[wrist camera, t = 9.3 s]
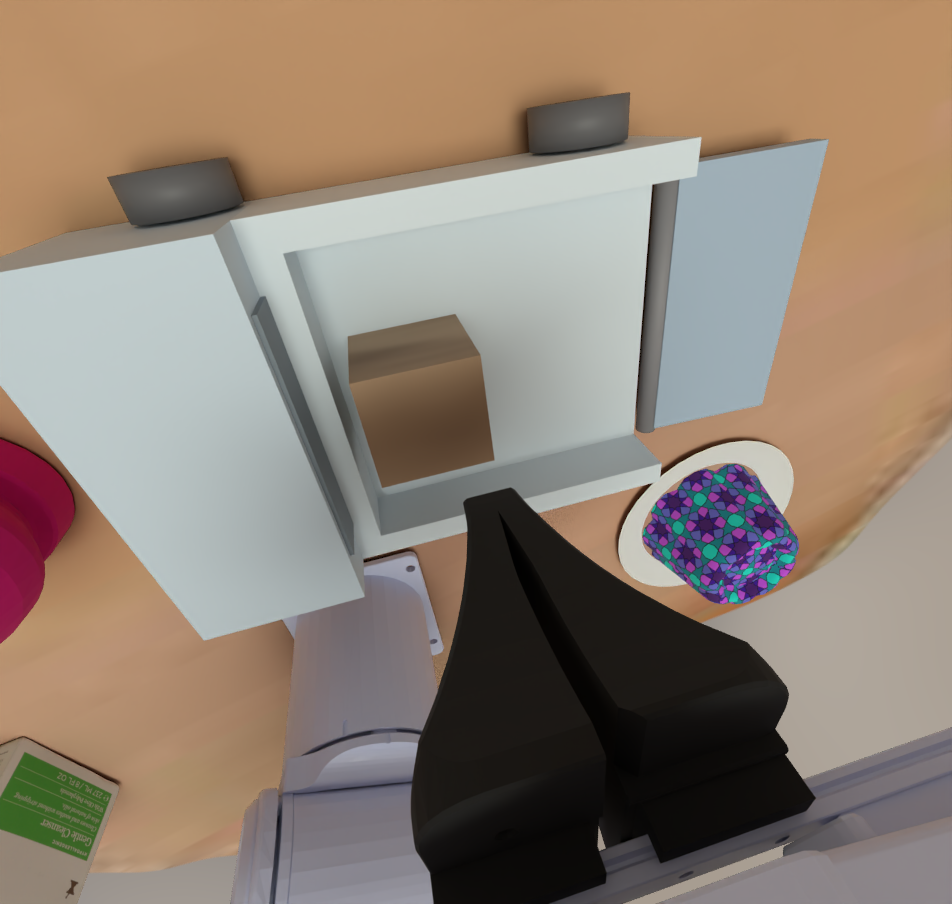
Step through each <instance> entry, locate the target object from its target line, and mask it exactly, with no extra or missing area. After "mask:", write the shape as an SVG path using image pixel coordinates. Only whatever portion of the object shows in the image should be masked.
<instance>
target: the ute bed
mask: <svg viewBox="0 0 952 904" xmlns="http://www.w3.org/2000/svg"><path fill="white" fill-rule="evenodd" d="M629 105H630V92H628V93H621V94H613V95H607V96H600V97H593V98H587V99H580V100H574V101H568V102H562V103H555V104H549V105H543V106H538V107H532V108H527V120H528V138H529V153H524V154H518V155H512V156H506V157H501V158H495V159H489V160H483V161H478V162H472V163H466V164H460V165H454V166H449V167H443V168H437V169H431V170H426V171H420V172H414V173H408V174H403V175H397V176H391V177H385V178H379V179H374V180H368V181H362V182H356V183H351V184H345V185H339V186H333V187H328V188H322V189H316V190H310V191H305V192H299V193H293V194H287V195H281V196H276V197H270V198H264V199H258V200H253V201H247V202H243V199H242V196H241V194H240V191H239V188H238V185H237V183H236V180H235V177H234V175H233V172H232V169H231V167H230V164H229V161H228V158H227V157H225V158H218V159H211V160H205V161H198V162H192V163H186V164H180V165H174V166H168V167H162V168H156V169H150V170H144V171H138V172H132V173H127V174H121V175H116V176H111V177H107V178H108V180H109V182H110V184H111V186H112V188H113V190H114V192H115V194H116V196H117V198H118V200H119V202H120V204H121V206H122V208H123V210H124V212H125V214H126V216H127V218H128V220H129V222H126V223H120V224H114V225H108V226H103V227H97V228H91V229H85V230H80V231H74V232H68V233H64V234H61V235H59V236H56V237H53V238H51V239H48V240H45V241H42V242H40V243H37V244H34V245H32V246H29V247H26V248H24V249H21V250H18V251H16V252H13V253H10V254H7V255H5V256H2V257H0V386H1V387H2V388H3V389H4V391H5V392H6V393H7V394H8V396H9V397H10V398H11V399H12V401H13V402H14V403H15V404H16V406H17V407H18V408H19V409H20V411H21V412H22V413H23V414H24V416H25V417H26V418H27V419H28V421H29V422H30V423H31V424H32V426H33V427H34V428H35V429H36V431H37V432H38V433H39V434H40V436H41V437H42V438H43V439H44V441H45V442H46V443H47V444H48V446H49V447H50V448H51V449H52V451H53V452H54V453H55V455H56V456H57V457H58V458H59V460H60V461H61V462H62V463H63V465H64V466H65V467H66V468H67V470H68V471H69V472H70V473H71V475H72V476H73V477H74V478H75V480H76V481H77V482H78V483H79V485H80V486H81V487H82V488H83V490H84V491H85V492H86V493H87V495H88V496H89V497H90V498H91V500H92V501H93V502H94V503H95V505H96V506H97V507H98V508H99V510H100V511H101V512H102V513H103V515H104V516H105V517H106V518H107V520H108V521H109V522H110V523H111V525H112V526H113V527H114V528H115V530H116V531H117V532H118V533H119V535H120V536H121V537H122V538H123V540H124V541H125V542H126V543H127V545H128V546H129V547H130V548H131V550H132V551H133V552H134V554H135V555H136V556H137V557H138V559H139V560H140V561H141V562H142V564H143V565H144V566H145V567H146V569H147V570H148V571H149V572H150V574H151V575H152V576H153V577H154V579H155V580H156V581H157V582H158V584H159V585H160V586H161V587H162V589H163V590H164V591H165V592H166V594H167V595H168V596H169V597H170V599H171V600H172V601H173V602H174V604H175V605H176V606H177V607H178V609H179V610H180V611H181V612H182V614H183V615H184V616H185V617H186V619H187V620H188V621H189V622H190V624H191V625H192V626H193V627H194V629H195V630H196V631H197V632H198V634H199V635H200V636H201V637H202V639H203V640H208V639H212V638H216V637H219V636H223V635H227V634H230V633H234V632H238V631H241V630H245V629H249V628H252V627H256V626H260V625H263V624H267V623H271V622H274V621H278V620H282V619H285V618H289V617H293V616H296V615H300V614H304V613H308V612H311V611H315V610H319V609H322V608H326V607H330V606H333V605H337V604H341V603H344V602H348V601H352V600H355V599H359V598H363V597H365V584H364V564H363V559H365V558H369V557H373V556H376V555H380V554H384V553H388V552H392V551H396V550H399V549H403V548H407V547H411V546H415V545H418V544H422V543H426V542H430V541H434V540H437V539H441V538H445V537H449V536H453V535H456V534H460V533H464V532H467V521H466V516H465V511H464V506H463V502H464V501H465V500H466V498H470V497H474V496H478V495H482V494H486V493H490V492H494V491H498V490H502V489H506V488H510V487H511V488H513V489H515V490H516V492H517V493H518V494H519V495H520V496H521V497H522V498H523V500H524V501H525V502H526V503H527V504H528V505H529V506H530V507H531V508H532V509H533V510H534V511H535V512H536V513H540V512H544V511H548V510H552V509H555V508H559V507H563V506H567V505H571V504H574V503H578V502H582V501H586V500H590V499H594V498H597V497H601V496H605V495H609V494H613V493H616V492H620V491H624V490H628V489H632V488H635V487H639V486H643V485H647V484H651V483H654V482H658V481H660V474H661V465H662V463H661V462H660V461H659V460H658V459H657V458H656V457H655V456H654V455H653V454H652V453H651V452H650V451H649V450H648V449H647V448H646V447H645V446H644V444H643V443H642V442H641V441H640V440H639V439H638V438H637V437H636V436H635V435H634V421H635V407H636V394H637V381H638V367H639V354H640V341H641V327H642V314H643V301H644V287H645V274H646V261H647V247H648V234H649V221H650V207H651V194H652V184H658V183H663V182H668V181H674V180H679V179H685V178H690V177H695V176H697V170H698V162H699V154H700V145H701V137H675V136H628V126H629ZM452 314H456V316H457V318H458V319H459V321H460V322H461V324H462V326H463V327H464V329H465V331H466V332H467V334H468V335H469V337H470V339H471V340H472V342H473V344H474V345H475V347H476V348H477V350H478V352H479V353H480V355H481V362H482V369H483V377H484V384H485V392H486V399H487V407H488V414H489V422H490V429H491V436H492V444H493V451H494V459H495V460H494V461H490V462H486V463H482V464H478V465H474V466H470V467H466V468H462V469H458V470H453V471H449V472H445V473H441V474H437V475H433V476H429V477H425V478H421V479H417V480H413V481H409V482H405V483H401V484H397V485H393V486H389V487H385V488H382V486H381V483H380V480H379V477H378V474H377V471H376V468H375V464H374V461H373V458H372V455H371V452H370V449H369V446H368V443H367V439H366V436H365V433H364V430H363V427H362V424H361V421H360V418H359V414H358V411H357V408H356V405H355V402H354V399H353V396H352V393H351V389H350V386H349V371H348V336H352V335H357V334H362V333H366V332H371V331H376V330H381V329H386V328H390V327H395V326H400V325H405V324H409V323H414V322H419V321H424V320H429V319H433V318H438V317H443V316H448V315H452Z"/></svg>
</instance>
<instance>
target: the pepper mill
mask: <svg viewBox="0 0 952 904" xmlns="http://www.w3.org/2000/svg"><path fill="white" fill-rule="evenodd" d="M74 512H75V507H74V502H73V496H72V493H71V491H70V490H69V488H68V486H67V485H66V483H65V481H64V479H63V478H62V477H61V476H60V475H59V474H58V473H57V472H56V471H55V470H54V469H53V468H52V467H51V466H50V465H49V464H48V463H46V462H45V461H43V460H42V459H40V458H39V457H37V456H36V455H34V454H32V453H31V452H29V451H28V450H26V449H24V448H22V447H19V446H17V445H14V444H12V443H9V442H7V441H4V440H2V439H0V644H1V643H2V642H3V641H4V640H5V639H6V638H8V637H9V636H10V635H11V634H12V633H13V632H14V631H15V629H16V628H17V627H18V626H19V624H20V623H21V622H22V621H23V619H24V618H25V617H26V616H27V614H28V613H29V612H30V611H31V609H32V608H33V607H34V605H35V604H36V602H37V600H38V599H39V596H40V594H41V592H42V589H43V585H44V578H45V564H44V561H45V560H46V559H47V558H48V557H49V556H50V555H51V553H52V552H53V550H54V549H55V548H56V546H57V545H58V543H59V542H60V540H61V539H62V537H63V536H64V534H65V533H66V532H67V530H68V529H69V527H70V525H71V523H72V521H73V518H74Z"/></svg>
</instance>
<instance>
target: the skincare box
mask: <svg viewBox="0 0 952 904" xmlns="http://www.w3.org/2000/svg"><path fill="white" fill-rule="evenodd" d="M118 792H119V786H118V785H117V784H115V783H113V782H111V781H109V780H106V779H104V778H102V777H101V776H99V775H97V774H95V773H94V772H92V771H90V770H88V769H86V768H84V767H81V766H79V765H77V764H76V763H74V762H72V761H70V760H68V759H66V758H64V757H62V756H60V755H58V754H56V753H54V752H52V751H50V750H48V749H46V748H44V747H42V746H40V745H38V744H37V743H35V742H33V741H31V740H29V739H27V738H24V737H21V738H19V739H16V740H14V741H11V742H9V743H6V744H4V745H1V746H0V904H77V903H78V900H79V897H80V894H81V891H82V889H83V886H84V883H85V881H86V878H87V875H88V873H89V870H90V867H91V865H92V862H93V859H94V856H95V854H96V851H97V849H98V846H99V843H100V840H101V838H102V835H103V832H104V830H105V827H106V824H107V821H108V819H109V816H110V813H111V811H112V808H113V805H114V803H115V800H116V797H117V795H118Z"/></svg>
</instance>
